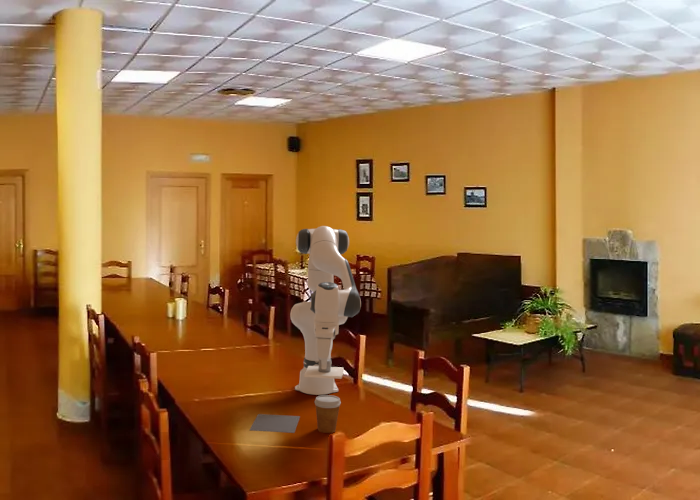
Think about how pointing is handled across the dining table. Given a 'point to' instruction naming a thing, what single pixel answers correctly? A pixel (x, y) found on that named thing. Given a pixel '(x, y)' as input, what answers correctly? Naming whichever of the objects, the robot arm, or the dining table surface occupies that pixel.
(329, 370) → the lid
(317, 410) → the disposable coffee cup
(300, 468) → the dining table surface
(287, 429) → the mat
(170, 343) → the dining table surface
